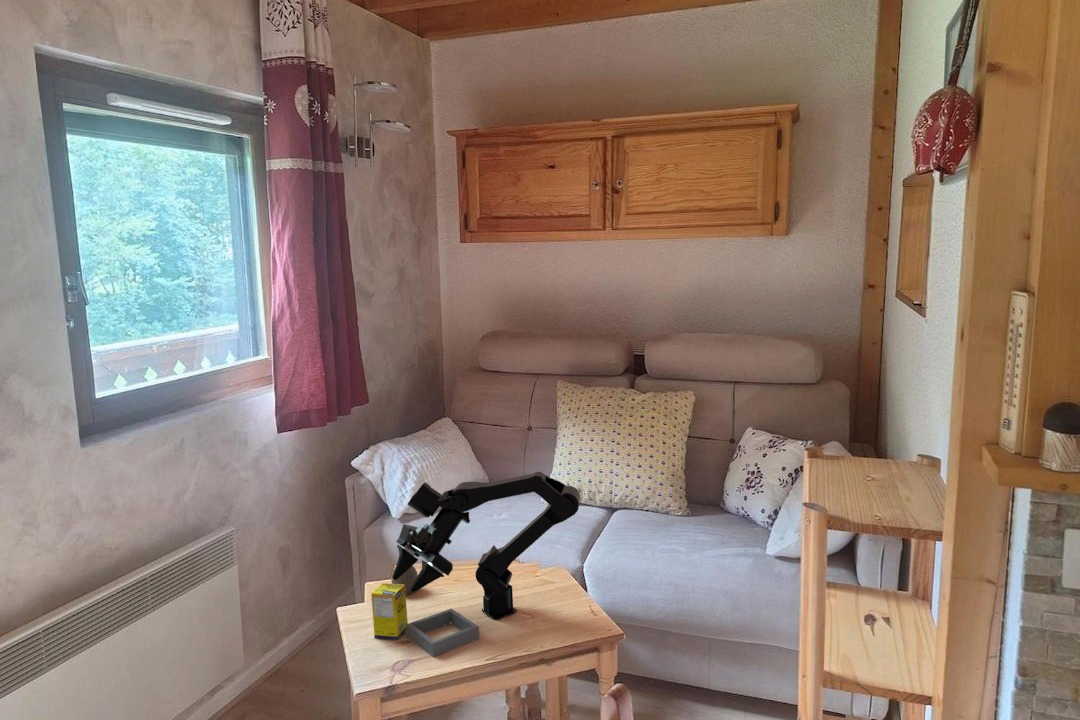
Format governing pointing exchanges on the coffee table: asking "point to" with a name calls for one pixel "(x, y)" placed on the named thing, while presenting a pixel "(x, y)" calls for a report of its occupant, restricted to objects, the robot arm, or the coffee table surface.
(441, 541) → the robot arm
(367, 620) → the coffee table surface
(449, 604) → the coffee table surface
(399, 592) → the supplement box
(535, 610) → the coffee table surface
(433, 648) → the collar
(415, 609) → the coffee table surface
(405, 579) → the vase
